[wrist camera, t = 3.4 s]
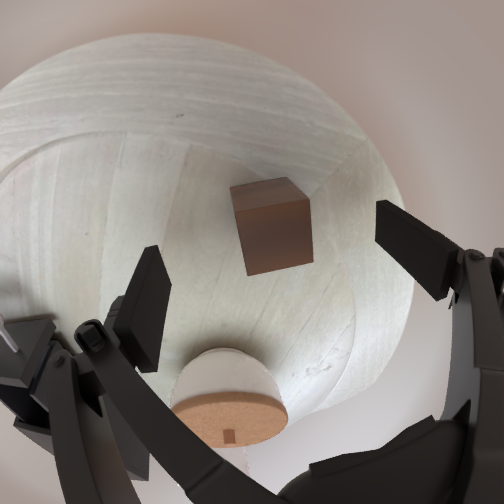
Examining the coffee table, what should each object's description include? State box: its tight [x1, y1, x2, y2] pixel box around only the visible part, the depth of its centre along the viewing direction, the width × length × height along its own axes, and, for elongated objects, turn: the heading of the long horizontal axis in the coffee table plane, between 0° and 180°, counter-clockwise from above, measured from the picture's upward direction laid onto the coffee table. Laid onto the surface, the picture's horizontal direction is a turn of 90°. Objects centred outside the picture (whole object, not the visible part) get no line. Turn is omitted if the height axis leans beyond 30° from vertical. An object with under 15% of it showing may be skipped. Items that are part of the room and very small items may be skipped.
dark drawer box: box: [13, 394, 150, 481], centre depth 25 cm, size 15×13×10 cm
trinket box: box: [170, 348, 288, 448], centre depth 23 cm, size 11×11×9 cm
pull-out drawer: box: [0, 314, 63, 429], centre depth 19 cm, size 18×12×8 cm, turn 9°
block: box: [230, 177, 314, 276], centre depth 17 cm, size 4×4×5 cm
